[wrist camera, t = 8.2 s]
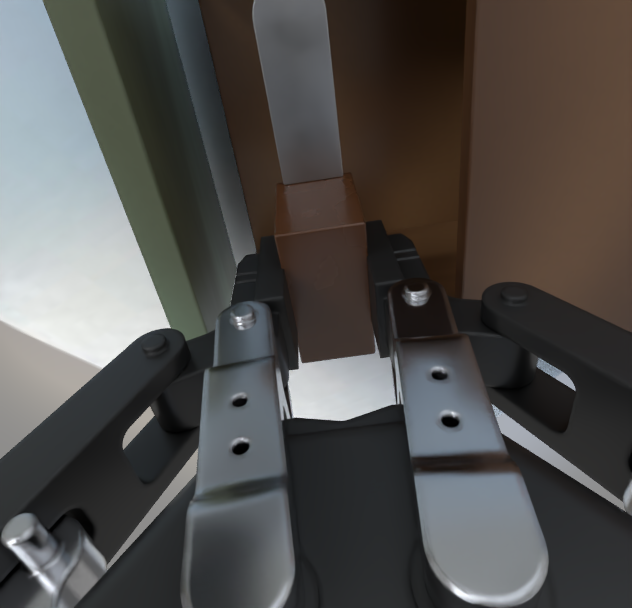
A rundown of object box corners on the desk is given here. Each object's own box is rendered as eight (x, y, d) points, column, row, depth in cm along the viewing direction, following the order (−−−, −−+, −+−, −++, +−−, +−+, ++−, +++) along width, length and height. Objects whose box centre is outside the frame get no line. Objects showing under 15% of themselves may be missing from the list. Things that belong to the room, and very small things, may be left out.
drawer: (190, 275, 23) (155, 377, 17) (76, -64, 16) (-56, -93, 10) (486, 233, 23) (557, 323, 17) (515, -139, 15) (665, -219, 9)
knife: (362, 292, 16) (375, 354, 14) (298, 301, 16) (301, 364, 14) (332, -38, 10) (347, -28, 8) (234, -21, 10) (220, -7, 8)
